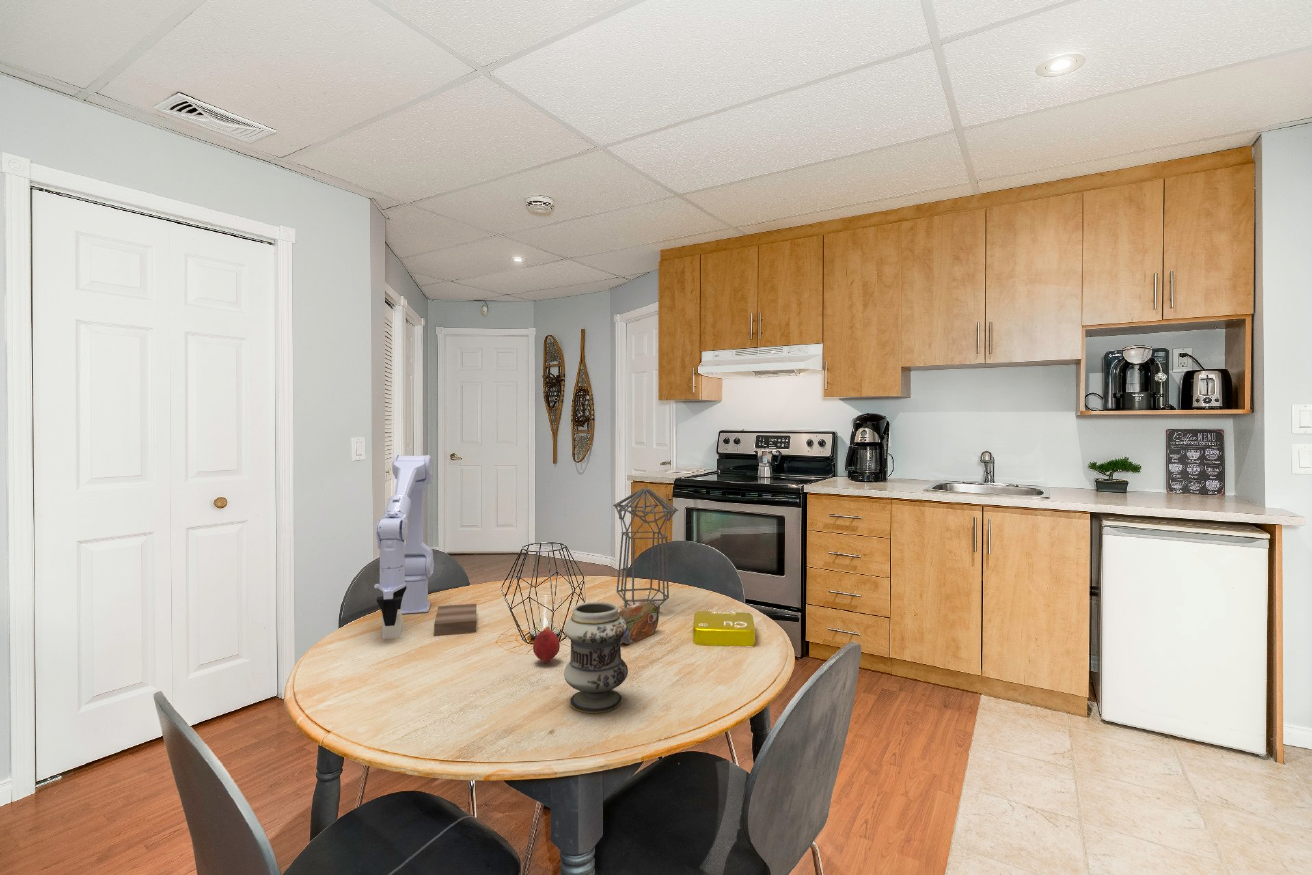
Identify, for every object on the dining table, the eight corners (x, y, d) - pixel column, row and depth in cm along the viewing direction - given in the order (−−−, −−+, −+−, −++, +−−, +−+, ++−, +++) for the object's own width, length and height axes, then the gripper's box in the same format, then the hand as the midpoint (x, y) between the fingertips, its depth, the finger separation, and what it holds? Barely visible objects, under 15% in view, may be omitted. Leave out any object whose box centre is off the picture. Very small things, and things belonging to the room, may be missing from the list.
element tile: (752, 628, 160) (752, 610, 160) (755, 648, 145) (755, 628, 145) (694, 626, 162) (694, 608, 162) (692, 646, 147) (692, 626, 147)
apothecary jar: (596, 683, 124) (596, 594, 124) (640, 699, 117) (641, 605, 116) (550, 703, 115) (550, 607, 115) (595, 723, 107) (596, 620, 107)
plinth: (438, 616, 168) (438, 606, 168) (476, 614, 170) (476, 603, 170) (434, 635, 152) (434, 623, 152) (476, 632, 155) (476, 620, 155)
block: (384, 634, 154) (384, 610, 154) (401, 632, 155) (401, 608, 155) (382, 639, 150) (382, 614, 150) (400, 637, 151) (399, 613, 151)
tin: (621, 648, 144) (621, 613, 144) (611, 645, 146) (611, 610, 146) (659, 632, 156) (660, 599, 156) (650, 629, 158) (650, 597, 158)
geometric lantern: (609, 606, 179) (612, 486, 179) (660, 603, 184) (663, 486, 184) (622, 621, 164) (625, 490, 164) (678, 617, 169) (680, 490, 169)
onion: (553, 668, 132) (554, 631, 132) (528, 666, 133) (528, 629, 133) (563, 658, 137) (563, 623, 137) (539, 656, 139) (539, 621, 138)
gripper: (379, 561, 158) (379, 613, 158) (369, 573, 144) (369, 631, 144) (408, 559, 160) (408, 611, 160) (401, 571, 146) (401, 628, 146)
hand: (392, 620), depth 152 cm, fingers open, 7 cm apart
